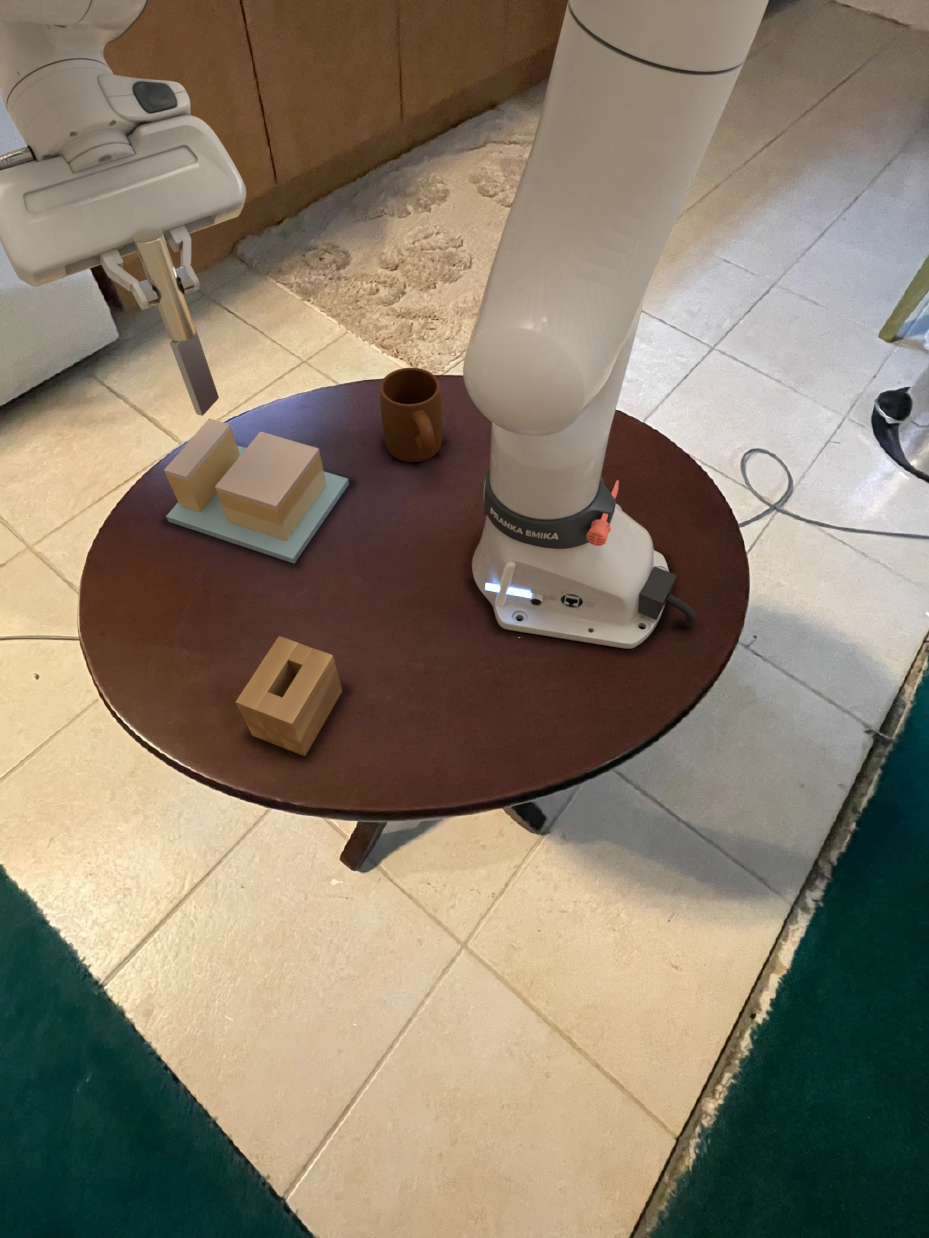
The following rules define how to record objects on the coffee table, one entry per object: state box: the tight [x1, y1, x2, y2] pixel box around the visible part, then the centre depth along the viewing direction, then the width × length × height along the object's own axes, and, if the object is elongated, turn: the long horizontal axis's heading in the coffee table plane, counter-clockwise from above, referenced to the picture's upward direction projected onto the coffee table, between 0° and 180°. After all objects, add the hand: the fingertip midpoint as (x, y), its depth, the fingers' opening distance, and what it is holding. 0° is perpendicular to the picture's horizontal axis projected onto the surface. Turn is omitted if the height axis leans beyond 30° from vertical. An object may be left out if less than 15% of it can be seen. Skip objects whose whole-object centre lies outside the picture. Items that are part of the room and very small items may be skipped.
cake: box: [165, 431, 350, 564], centre depth 92 cm, size 18×14×7 cm
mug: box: [379, 367, 443, 463], centre depth 96 cm, size 12×8×9 cm, turn 18°
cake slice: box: [163, 418, 240, 512], centre depth 93 cm, size 3×10×6 cm, turn 158°
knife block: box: [235, 635, 343, 757], centre depth 75 cm, size 6×8×7 cm
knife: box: [133, 228, 220, 417], centre depth 69 cm, size 2×3×17 cm
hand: (171, 297), depth 66 cm, fingers closed on knife, 2 cm apart
